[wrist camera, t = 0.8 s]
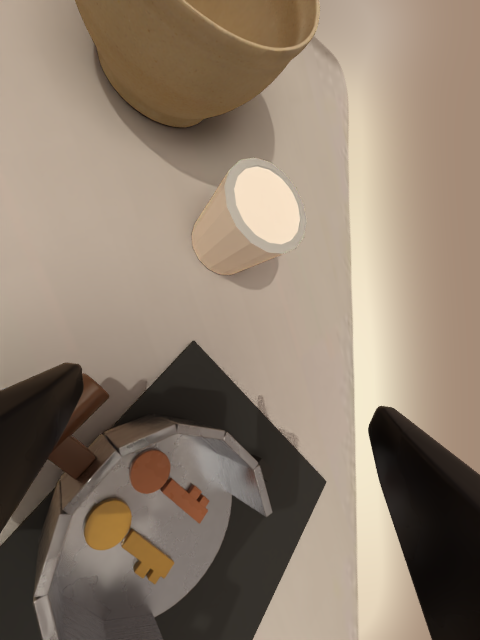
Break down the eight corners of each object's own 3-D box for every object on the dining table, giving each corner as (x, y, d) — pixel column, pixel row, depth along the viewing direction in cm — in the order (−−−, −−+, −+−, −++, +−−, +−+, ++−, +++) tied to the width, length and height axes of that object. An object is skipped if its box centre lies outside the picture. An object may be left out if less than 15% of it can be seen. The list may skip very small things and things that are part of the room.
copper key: (119, 475, 17) (120, 478, 17) (149, 440, 18) (151, 441, 18) (189, 533, 19) (192, 536, 18) (213, 497, 20) (216, 499, 20)
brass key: (72, 531, 16) (73, 535, 15) (108, 488, 17) (109, 491, 17) (153, 589, 17) (155, 594, 17) (181, 546, 18) (183, 550, 18)
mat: (177, 790, 18) (188, 825, 16) (-99, 651, 13) (-117, 683, 12) (324, 480, 27) (338, 486, 26) (192, 340, 23) (201, 338, 22)
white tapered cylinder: (187, 194, 25) (228, 138, 19) (255, 221, 28) (307, 180, 23) (180, 271, 23) (221, 235, 18) (252, 289, 27) (308, 264, 21)
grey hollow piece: (148, 658, 17) (179, 750, 13) (-78, 514, 13) (-138, 574, 9) (254, 480, 22) (300, 504, 18) (112, 343, 19) (128, 333, 15)
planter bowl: (245, 64, 31) (324, -64, 22) (228, 196, 27) (315, 104, 18) (75, -64, 24) (88, -343, 14) (14, 92, 19) (-21, -159, 10)
